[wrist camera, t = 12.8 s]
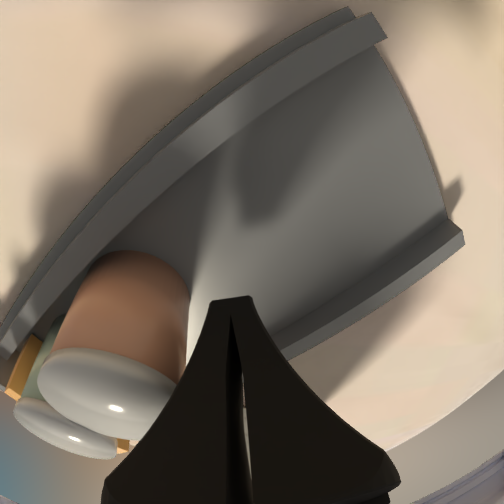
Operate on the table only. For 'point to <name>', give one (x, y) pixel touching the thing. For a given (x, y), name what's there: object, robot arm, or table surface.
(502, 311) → the table surface
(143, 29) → the table surface
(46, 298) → the grey rectangular tray
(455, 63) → the table surface
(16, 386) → the pusher
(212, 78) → the table surface
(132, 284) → the jar
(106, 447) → the jar
